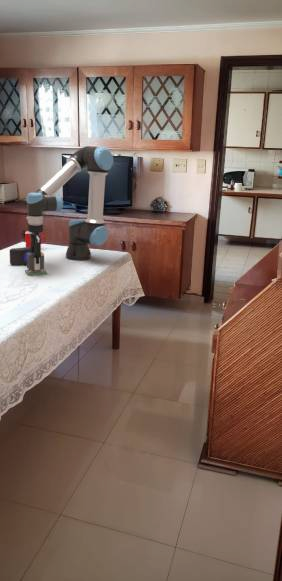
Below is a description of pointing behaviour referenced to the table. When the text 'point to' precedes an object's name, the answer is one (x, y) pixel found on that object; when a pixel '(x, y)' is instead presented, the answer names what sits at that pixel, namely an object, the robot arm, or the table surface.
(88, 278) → the table surface
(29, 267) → the gray orange-striped box
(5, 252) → the table surface
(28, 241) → the mug
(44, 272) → the header
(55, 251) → the table surface
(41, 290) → the table surface
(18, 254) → the computer mouse
